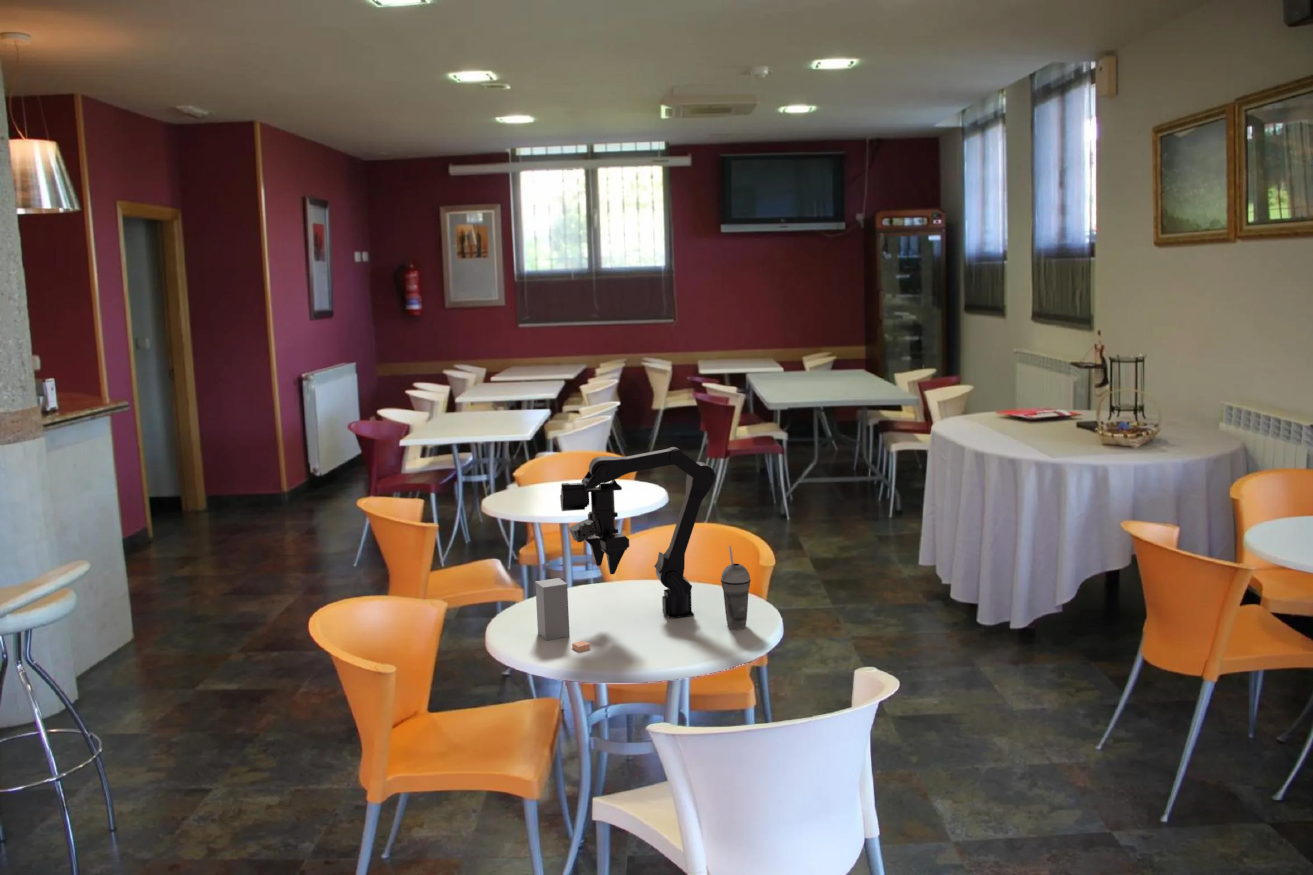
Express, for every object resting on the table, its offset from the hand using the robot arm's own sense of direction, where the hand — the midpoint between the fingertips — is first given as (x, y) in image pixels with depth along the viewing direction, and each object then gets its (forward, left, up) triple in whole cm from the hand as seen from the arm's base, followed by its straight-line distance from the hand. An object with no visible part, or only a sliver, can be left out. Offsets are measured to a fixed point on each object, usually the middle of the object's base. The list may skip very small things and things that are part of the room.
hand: (605, 569), depth 269 cm
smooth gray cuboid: (+15, +6, -13) cm, 21 cm away
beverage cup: (-28, +17, -13) cm, 35 cm away
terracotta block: (+11, +18, -13) cm, 25 cm away
